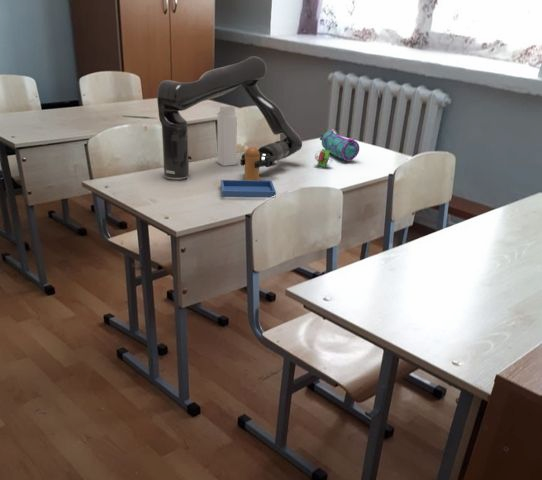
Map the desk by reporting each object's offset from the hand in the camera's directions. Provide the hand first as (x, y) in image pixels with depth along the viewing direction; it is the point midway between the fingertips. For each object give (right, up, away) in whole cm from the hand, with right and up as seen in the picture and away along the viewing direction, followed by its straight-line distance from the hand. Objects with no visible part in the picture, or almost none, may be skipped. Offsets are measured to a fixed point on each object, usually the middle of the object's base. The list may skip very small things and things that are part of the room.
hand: (248, 164), depth 218 cm
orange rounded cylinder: (+1, -5, +6) cm, 8 cm away
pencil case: (+38, +17, +43) cm, 60 cm away
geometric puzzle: (+30, +8, +29) cm, 42 cm away
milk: (-10, +8, +25) cm, 28 cm away
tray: (0, -12, -6) cm, 14 cm away
